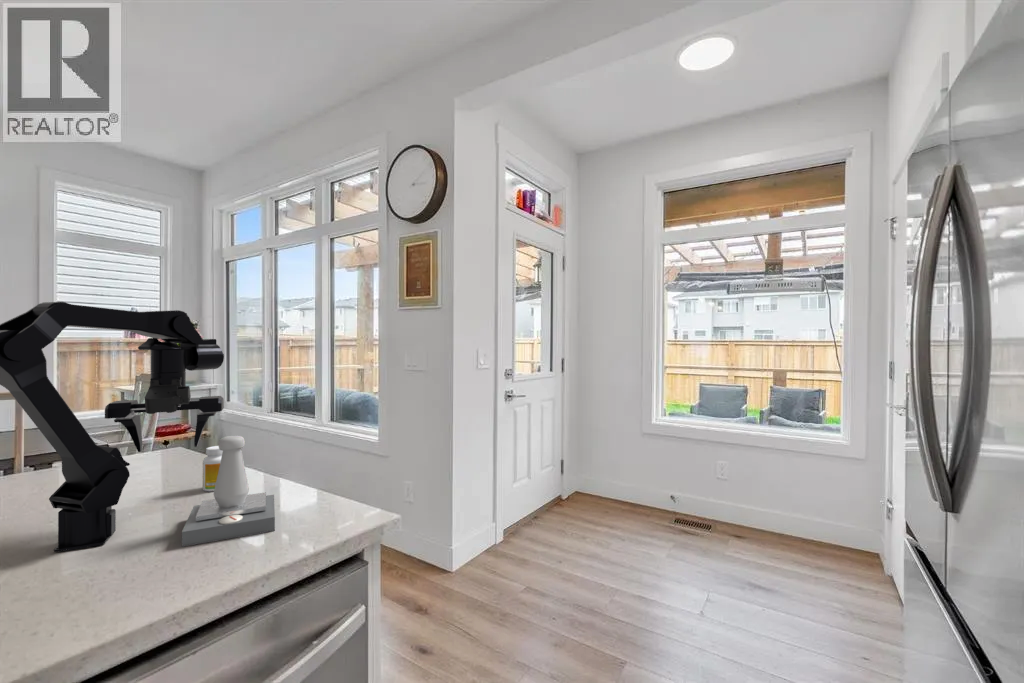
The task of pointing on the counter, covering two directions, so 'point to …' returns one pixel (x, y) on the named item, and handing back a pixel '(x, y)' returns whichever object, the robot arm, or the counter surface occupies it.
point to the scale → (228, 525)
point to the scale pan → (212, 509)
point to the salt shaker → (231, 473)
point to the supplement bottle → (211, 467)
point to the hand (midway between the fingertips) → (168, 448)
